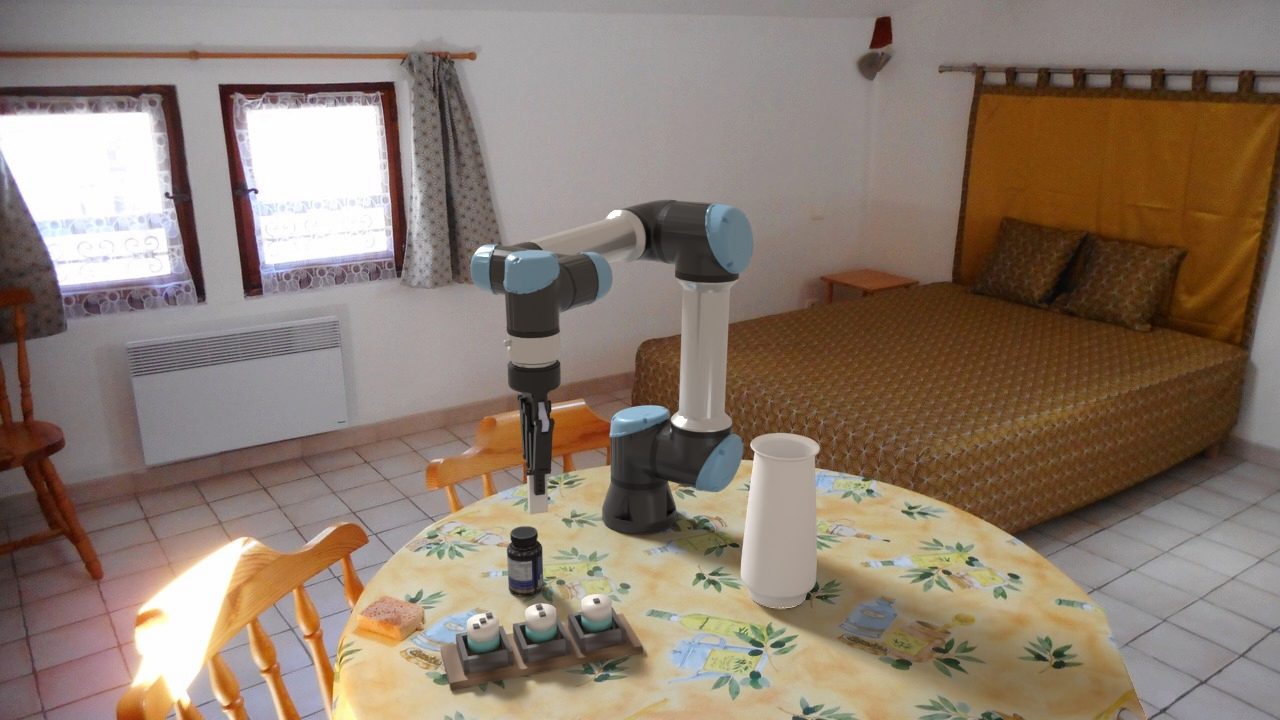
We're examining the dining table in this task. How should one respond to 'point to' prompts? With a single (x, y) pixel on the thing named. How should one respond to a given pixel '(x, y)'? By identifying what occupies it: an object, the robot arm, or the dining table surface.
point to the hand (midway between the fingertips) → (538, 510)
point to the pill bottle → (525, 562)
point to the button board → (537, 651)
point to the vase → (781, 521)
